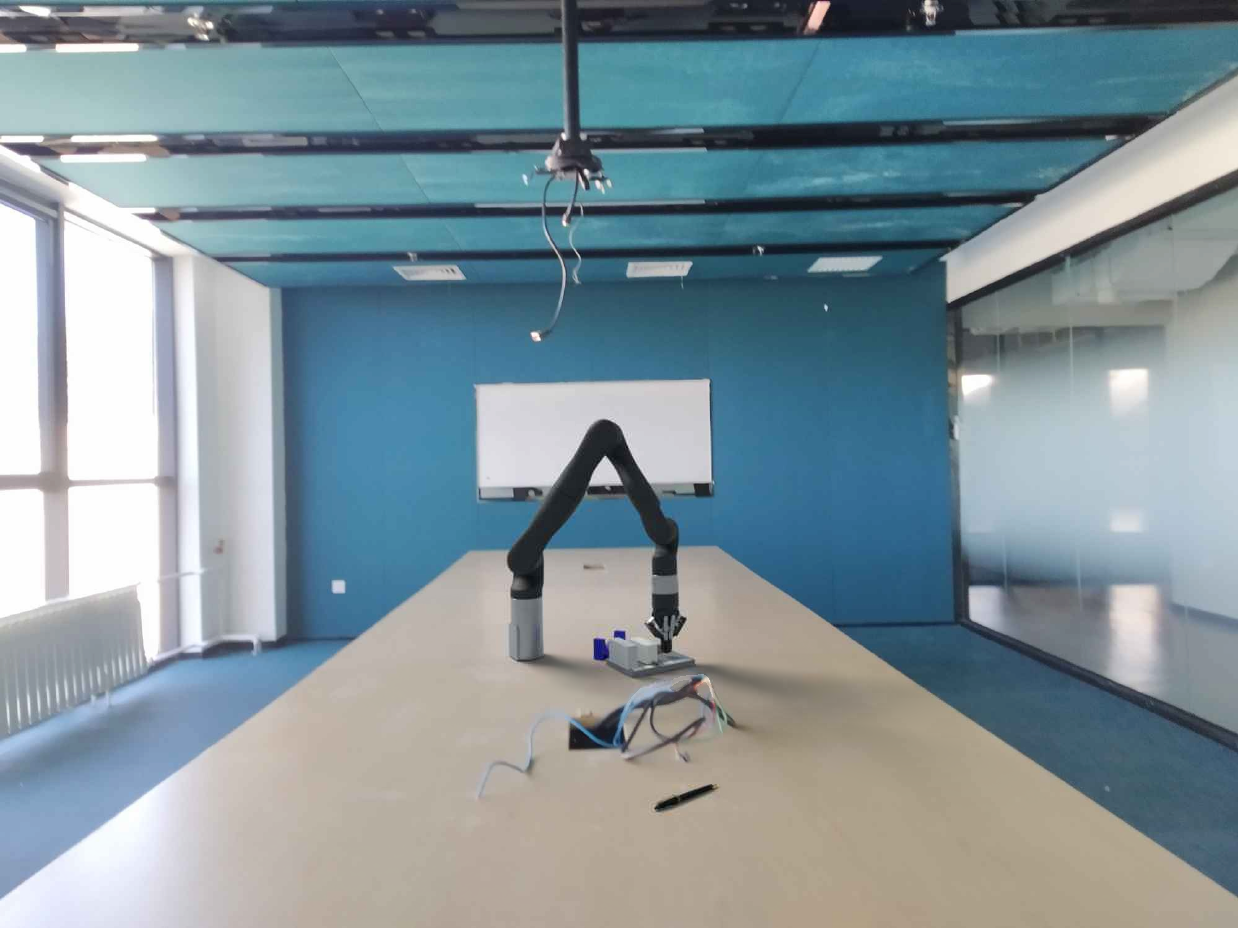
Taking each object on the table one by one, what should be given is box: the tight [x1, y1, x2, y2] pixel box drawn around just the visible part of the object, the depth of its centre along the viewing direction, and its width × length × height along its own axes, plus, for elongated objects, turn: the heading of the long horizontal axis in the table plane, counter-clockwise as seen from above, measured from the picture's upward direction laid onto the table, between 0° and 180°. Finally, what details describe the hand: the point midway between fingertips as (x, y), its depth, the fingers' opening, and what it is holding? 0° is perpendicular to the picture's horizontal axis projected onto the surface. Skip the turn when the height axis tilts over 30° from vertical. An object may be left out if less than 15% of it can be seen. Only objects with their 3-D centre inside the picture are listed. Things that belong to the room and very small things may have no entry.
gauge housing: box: [605, 637, 696, 679], centre depth 194 cm, size 20×14×8 cm
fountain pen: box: [653, 783, 719, 810], centre depth 118 cm, size 14×1×2 cm, turn 126°
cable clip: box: [593, 629, 627, 662], centre depth 205 cm, size 12×4×6 cm, turn 146°
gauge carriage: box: [628, 636, 659, 665], centre depth 192 cm, size 4×12×5 cm, turn 30°
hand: (666, 652), depth 197 cm, fingers closed
